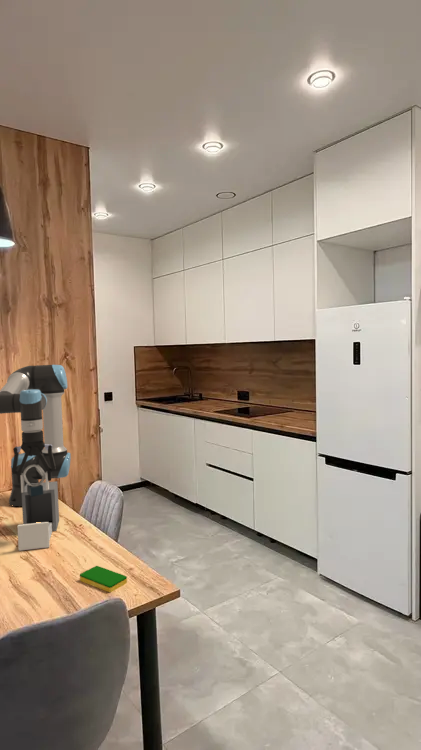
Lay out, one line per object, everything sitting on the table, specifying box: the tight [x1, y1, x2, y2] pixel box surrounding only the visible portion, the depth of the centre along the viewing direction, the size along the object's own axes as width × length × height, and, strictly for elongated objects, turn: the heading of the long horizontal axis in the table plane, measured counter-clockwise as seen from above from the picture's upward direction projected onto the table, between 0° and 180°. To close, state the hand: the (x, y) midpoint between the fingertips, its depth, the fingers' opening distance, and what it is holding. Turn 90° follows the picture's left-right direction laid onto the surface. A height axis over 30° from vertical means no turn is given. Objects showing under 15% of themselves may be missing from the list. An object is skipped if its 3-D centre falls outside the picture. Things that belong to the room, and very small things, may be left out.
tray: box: [17, 522, 53, 552], centre depth 178 cm, size 16×10×9 cm, turn 13°
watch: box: [23, 464, 46, 497], centre depth 179 cm, size 6×8×11 cm
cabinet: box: [21, 480, 60, 532], centre depth 192 cm, size 12×12×17 cm
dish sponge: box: [79, 565, 128, 593], centre depth 146 cm, size 7×14×2 cm, turn 55°
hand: (35, 490), depth 179 cm, fingers closed on watch, 8 cm apart
